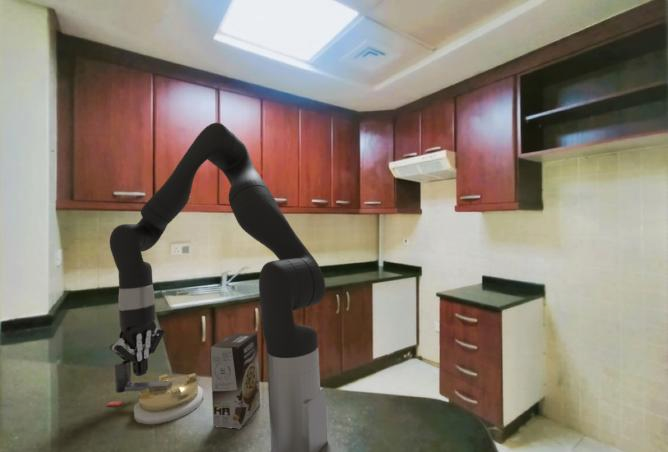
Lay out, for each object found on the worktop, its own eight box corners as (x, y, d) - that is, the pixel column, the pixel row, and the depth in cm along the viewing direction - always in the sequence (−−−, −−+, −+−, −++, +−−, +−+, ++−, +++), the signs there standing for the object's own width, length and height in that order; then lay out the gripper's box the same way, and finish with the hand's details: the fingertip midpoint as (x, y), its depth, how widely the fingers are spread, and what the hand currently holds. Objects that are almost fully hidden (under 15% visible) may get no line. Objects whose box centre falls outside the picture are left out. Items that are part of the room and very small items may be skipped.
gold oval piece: (207, 383, 77) (205, 350, 77) (181, 410, 65) (179, 372, 65) (135, 385, 78) (134, 353, 78) (96, 413, 66) (95, 375, 66)
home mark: (123, 403, 73) (122, 401, 73) (118, 406, 72) (118, 404, 72) (111, 403, 74) (111, 401, 74) (107, 406, 73) (107, 404, 73)
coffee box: (241, 430, 61) (238, 347, 61) (212, 427, 62) (208, 346, 62) (261, 404, 70) (258, 332, 70) (235, 402, 71) (232, 332, 71)
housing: (216, 396, 74) (215, 389, 74) (160, 430, 62) (160, 423, 62) (177, 386, 81) (177, 380, 81) (120, 415, 68) (120, 408, 68)
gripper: (151, 297, 84) (154, 361, 84) (98, 310, 72) (102, 385, 72) (171, 298, 81) (174, 365, 81) (119, 312, 69) (123, 390, 69)
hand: (140, 374), depth 77 cm, fingers closed
